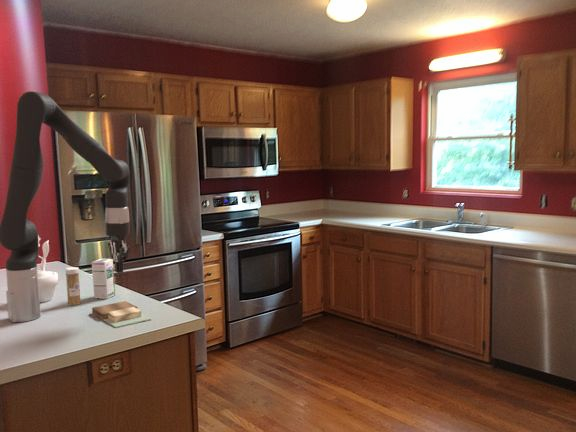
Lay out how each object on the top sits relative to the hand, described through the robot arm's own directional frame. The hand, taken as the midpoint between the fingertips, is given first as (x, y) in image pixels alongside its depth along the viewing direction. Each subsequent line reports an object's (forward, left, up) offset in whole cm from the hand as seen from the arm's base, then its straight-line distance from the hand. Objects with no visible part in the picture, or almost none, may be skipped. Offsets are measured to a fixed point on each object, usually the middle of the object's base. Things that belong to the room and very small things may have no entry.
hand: (119, 272), depth 176 cm
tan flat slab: (0, +6, -15) cm, 16 cm away
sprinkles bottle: (-7, +27, -16) cm, 32 cm away
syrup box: (+5, +29, -16) cm, 33 cm away
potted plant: (-15, +40, -16) cm, 45 cm away
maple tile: (0, -2, -15) cm, 15 cm away
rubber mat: (0, -5, -15) cm, 16 cm away
